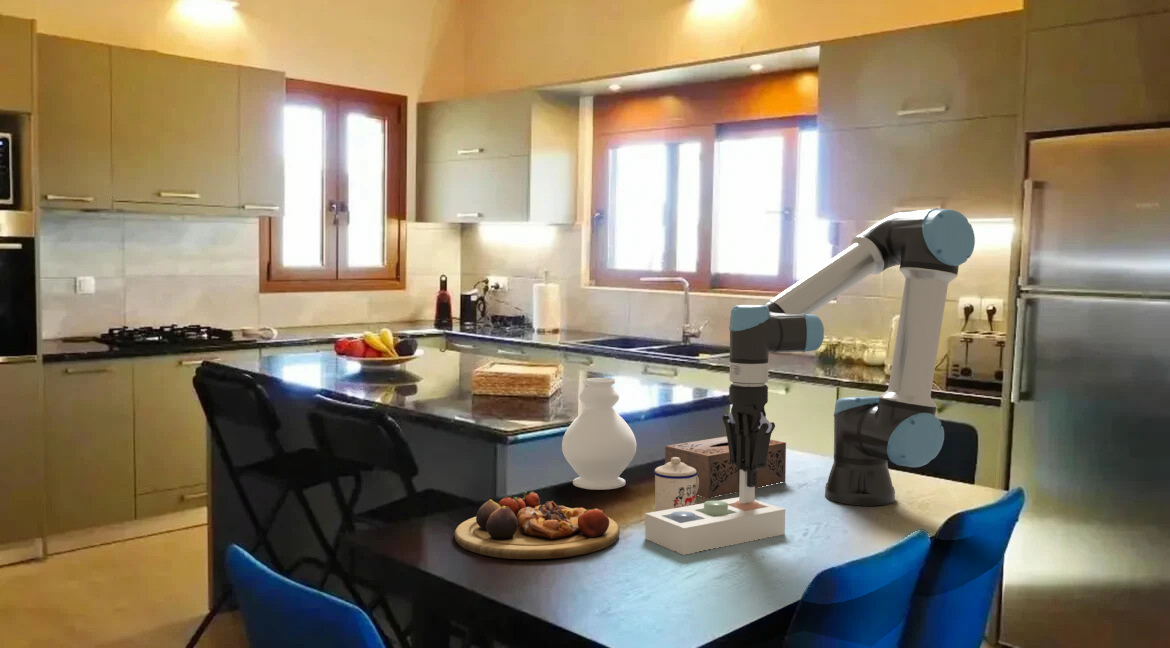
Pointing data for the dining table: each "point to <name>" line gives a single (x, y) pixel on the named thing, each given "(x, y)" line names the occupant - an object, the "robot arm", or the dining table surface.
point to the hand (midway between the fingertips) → (746, 501)
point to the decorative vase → (599, 439)
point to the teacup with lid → (675, 485)
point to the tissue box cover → (725, 465)
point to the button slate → (682, 516)
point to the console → (714, 527)
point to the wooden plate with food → (535, 529)
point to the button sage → (715, 508)
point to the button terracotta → (747, 506)
